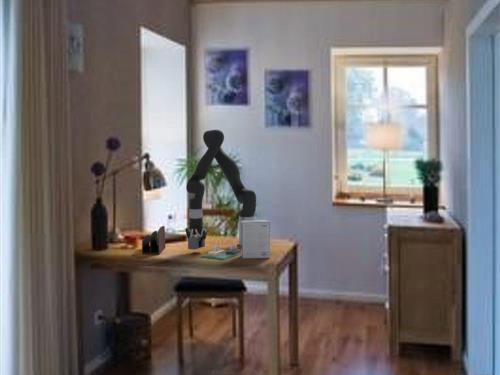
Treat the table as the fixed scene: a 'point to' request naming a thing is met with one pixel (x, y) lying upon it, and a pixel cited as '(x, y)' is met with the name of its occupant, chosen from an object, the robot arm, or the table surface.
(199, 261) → the table surface
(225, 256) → the pcb board
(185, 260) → the table surface
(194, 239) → the plug housing
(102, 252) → the table surface
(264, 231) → the hard drive box
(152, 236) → the letter holder
